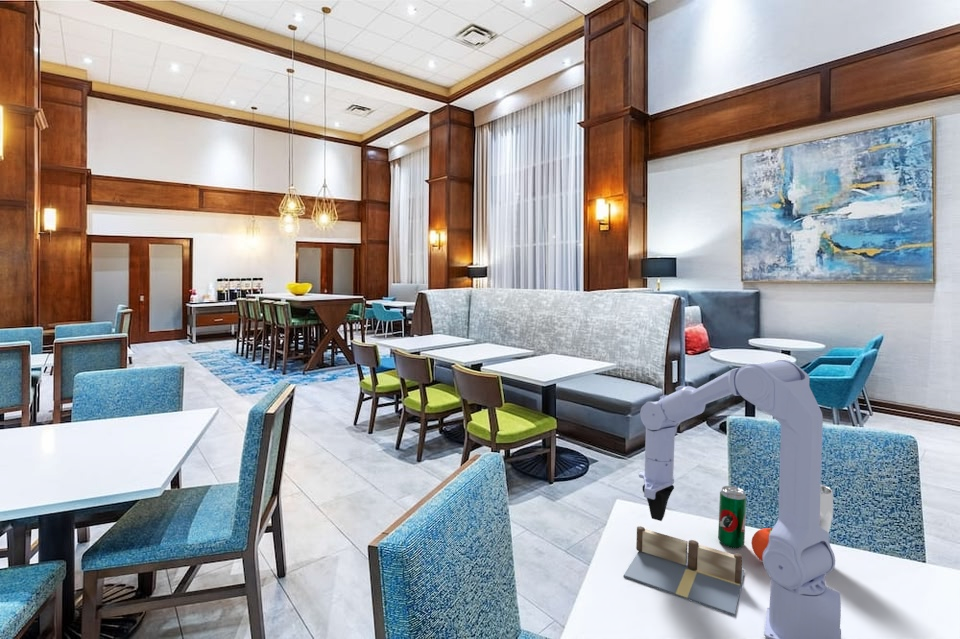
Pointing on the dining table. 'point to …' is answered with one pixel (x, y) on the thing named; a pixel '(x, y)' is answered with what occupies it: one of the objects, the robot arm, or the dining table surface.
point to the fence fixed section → (715, 562)
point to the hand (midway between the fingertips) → (657, 518)
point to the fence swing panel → (661, 545)
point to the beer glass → (826, 507)
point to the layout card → (685, 582)
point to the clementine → (760, 541)
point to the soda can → (732, 517)
